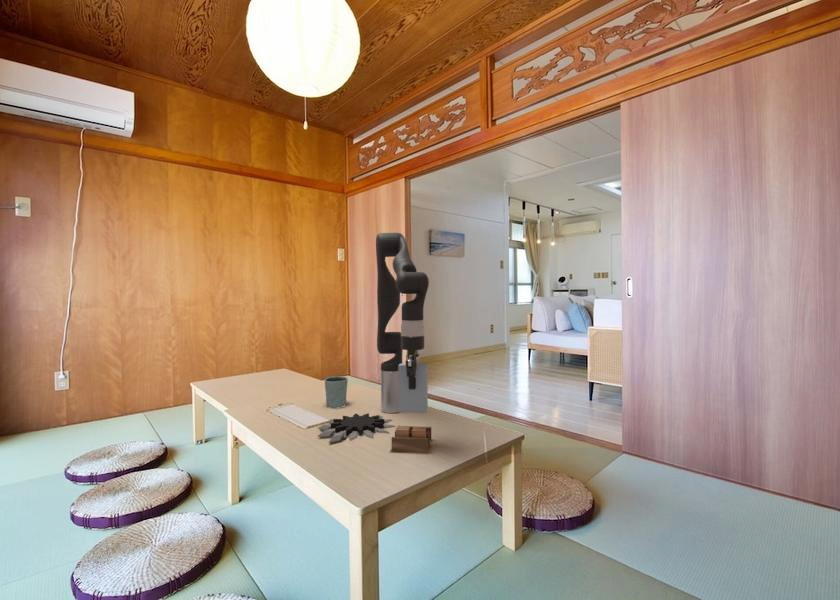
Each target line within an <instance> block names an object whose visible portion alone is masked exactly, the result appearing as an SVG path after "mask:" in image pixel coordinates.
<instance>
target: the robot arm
mask: <svg viewBox="0 0 840 600" xmlns="http://www.w3.org/2000/svg"><path fill="white" fill-rule="evenodd" d="M375 251H376V252H375V253H376V254H375V255H376V268H377V271H376V272H377V285H376V286H377V287H376V288H377V289H376V290H377V291H376V294H377V301H376V302H377V335H376V337H377V339H376V346H377V347H376V349H377V351H378V353H379V354H382V355H386V354H387V355H391V354H392V355H394V356H393V357H392V358H390V359H388V360H386V361H383V362H381V364H380V410H381V412H383V413H386V414H395V413H400V412H399V395H398V365H399V364H403V350H404V351H407V354H406V355H405V363H404V364H406V371H407V377H408V378H409V389H413V390H414V389H415V388H416V370H417V369H418V364H420V358H421V355H420V353H419V351H422V350H424V349H425V323H424V307H425V300H426V297H427V292H428V290H429V286H430V285H429V283H430V280H429V277H428V275H427V274H426V272H422V271H417V267H416V265H415V264H414V262H413V260H412V258H411V256H410V252H409V249H408V245H407V241H406V239H405V236H404V235H403V233H401V232H380V233H378V234H377V235H376V237H375ZM392 257H394V258H393V260H392V268H393V270H394V273H395V275H396V279H395V277H394V276H393V275H392V273H391V271H390V269H389V268H388V265H387V262H386V258H392ZM401 294H403V295H415V297H414V298H413V299H412V300H407V301H405V302H403V303H402V304H401V305H400V303H401ZM400 306H401V324H400V325H401V326H400V331H386V329H387V326H388V324H389V322H390V320H391V319H392V317H393V316H394V315H395V313H396V312H397V310H398V309H399V307H400ZM415 365H416V366H415ZM410 371H413V373H410Z"/></svg>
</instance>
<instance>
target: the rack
mask: <svg viewBox="0 0 840 600" xmlns="http://www.w3.org/2000/svg"><path fill="white" fill-rule="evenodd" d="M397 427H410V437H396V430H395V431H394V436H392V437H391V449H390V451H389V453H393V454H394V453H395V454H409V455H410V454H411V455H412V454H416V455H430V453H431V452H430V451H431V448H432V445H433V440H434V439H433V438H432V426H424V427H425V428H426V438H412V429H413V427H419V426H415V425H412V426H411V425H398V426H397Z"/></svg>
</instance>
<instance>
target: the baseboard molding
mask: <svg viewBox="0 0 840 600" xmlns="http://www.w3.org/2000/svg"><path fill="white" fill-rule="evenodd" d="M288 404H289V405H288ZM288 404H287V405H286V404H283V403H280V404H278V406H280V407H276V408H275V407H274V408H272V406H271V407H270V406H269V407H268V409H270V408H272V409H271V410H269V411H270V412H272V413H274V414H276V415H278V416H280V417H282V418H284V419H286V420H288V421H289V422H288V421H287V422H288V423H290V422H291V423H290V424H292V423H293V424H292V425H294V424H295V425H294V426H296V425H297V426H296V427H298V426H299V428H300V427H301V428H300V429H302V428H303V430H304V429H305V430H308V429H311V427H312V428H315V426H316V427H319V426H322V424H323V425H326V424H325V423H327V424H329V423H328V421H329V420H330V419H327V418H325V417H322V416H321V415H318V414H315V413H313V412H312V411H308V410H306V409H304V408H301V407H299V406H298V405H294V404H291V402H290V403H288ZM268 409H266V410H265V411H266V413H267V412H268ZM270 412H269V413H270ZM272 413H271V414H272ZM274 414H273V415H274ZM276 415H275V416H276ZM278 416H277V417H278ZM280 417H279V418H280ZM282 418H281V419H282ZM284 419H283V420H284ZM286 420H285V421H286ZM318 425H319V426H318ZM307 428H308V429H307Z"/></svg>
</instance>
